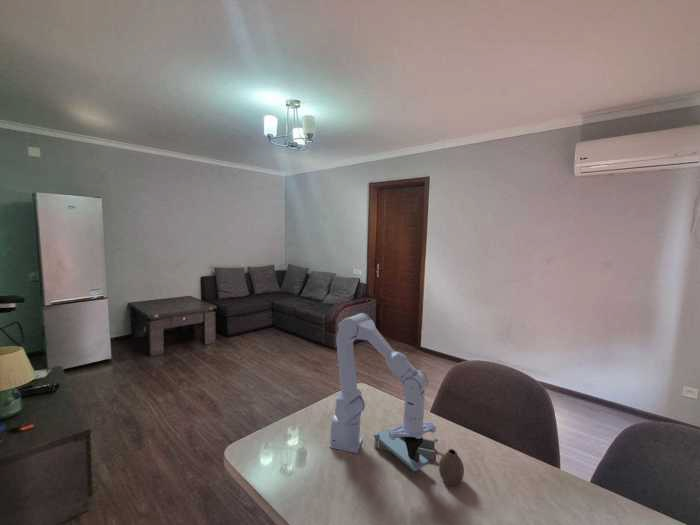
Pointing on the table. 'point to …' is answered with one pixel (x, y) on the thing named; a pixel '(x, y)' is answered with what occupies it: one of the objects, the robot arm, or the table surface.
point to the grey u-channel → (425, 448)
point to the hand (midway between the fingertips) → (411, 457)
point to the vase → (451, 468)
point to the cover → (401, 450)
